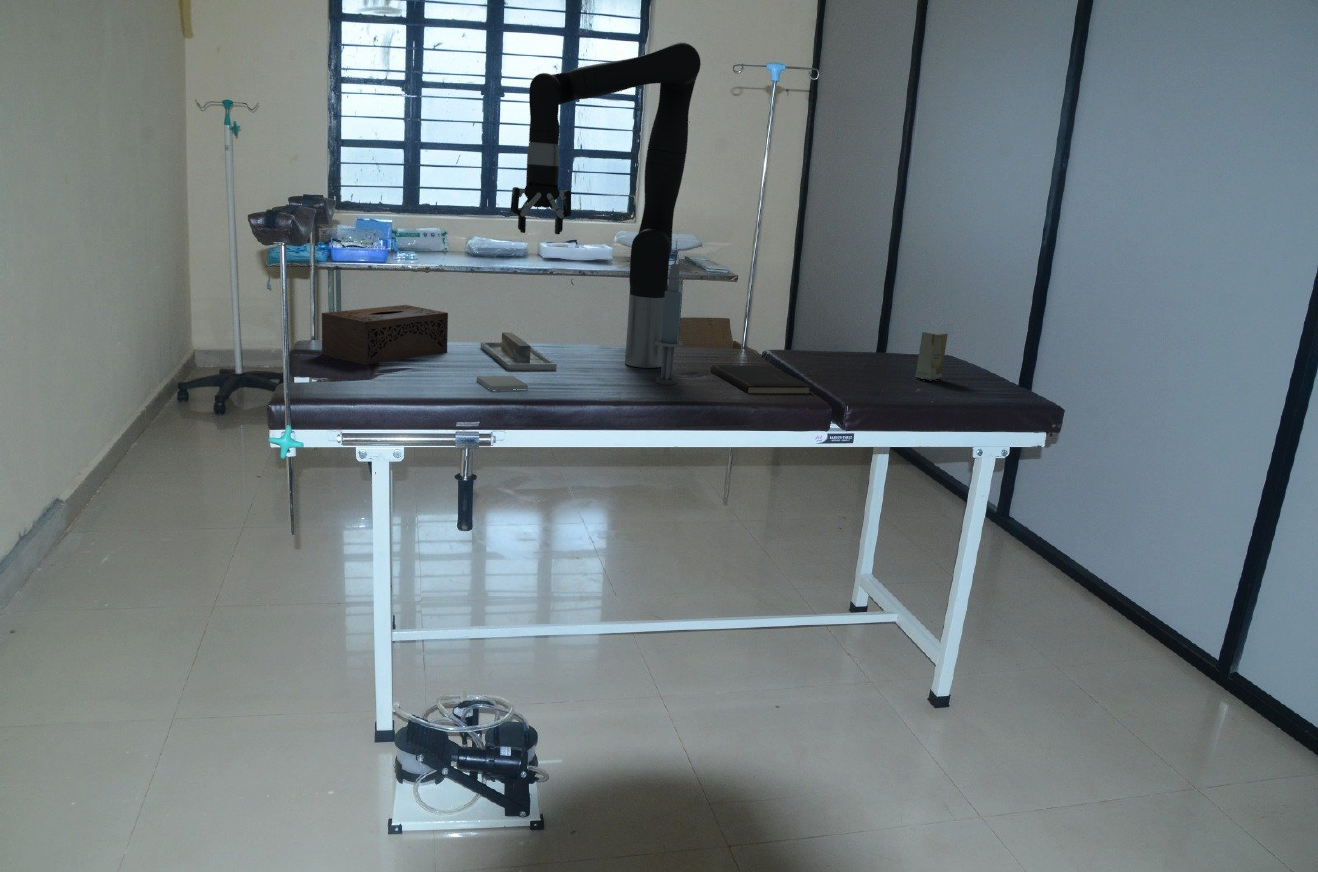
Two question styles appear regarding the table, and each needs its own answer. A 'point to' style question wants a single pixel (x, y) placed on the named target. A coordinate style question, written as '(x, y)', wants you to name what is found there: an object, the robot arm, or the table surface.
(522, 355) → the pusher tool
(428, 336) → the tissue box cover
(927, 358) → the skincare box
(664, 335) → the syringe
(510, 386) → the tile
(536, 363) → the instrument tray
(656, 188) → the robot arm
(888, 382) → the table surface
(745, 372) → the hardcover book
